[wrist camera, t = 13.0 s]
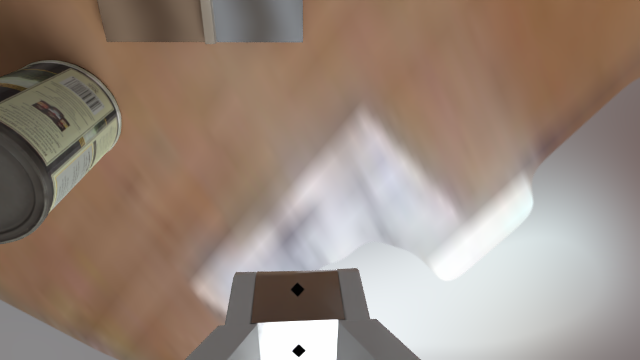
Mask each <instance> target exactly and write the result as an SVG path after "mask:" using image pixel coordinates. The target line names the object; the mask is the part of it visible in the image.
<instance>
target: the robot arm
mask: <svg viewBox="0 0 640 360" xmlns="http://www.w3.org/2000/svg"><path fill="white" fill-rule="evenodd" d="M185 360H421V359H419V358H418V357H417V356H416V355H415V354H414V353H413V352H412V351H411V350H409V349H408V348H407V347H406V346H405V345H404V344H403V343H402V342H401V341H400V340H399V339H398V338H396V337H395V336H394V335H393V334H392V333H391V332H390V331H389V330H387V328H386V327H384V326H383V325H382V324H381V323H380V322H379V321H378V320H377V319H370V317H369V312H368V308H367V304H366V299H365V295H364V291H363V286H362V282H361V278H360V274H359V270H358V269H356V268H352V269H337V270H315V271H277V272H236V273H235V275H234V277H233V283H232V288H231V294H230V299H229V305H228V310H227V316H226V321H225V325H223V326H218V327H217V328H216V329H215V330H214V331H213V332H212V333H211V334H210V335H209V336H208V337H207V338H206V339H205V340H204V341H203V342H202V343H201V344H200V345H199V346H198V347H197V348H196V349H195V350H194V351H193V352H192V353H191V354H190V355H189V356H188V357H187V358H186V359H185Z"/></svg>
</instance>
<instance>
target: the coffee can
mask: <svg viewBox="0 0 640 360" xmlns="http://www.w3.org/2000/svg"><path fill="white" fill-rule="evenodd" d="M120 133H121V114H120V110H119V107H118V105H117V102H116V101H115V99H114V96H113V95H112V94H111V93H110V91H109V90H108V89H107V88H106V86H105V85H104V84H103V83H102V82H101V81H100V80H99V79H97V78H96V77H95V76H94V75H92V74H91V73H89V72H88V71H86V70H84V69H82V68H80V67H78V66H76V65H73V64H70V63H67V62H62V61H55V60H45V61H38V62H34V63H31V64H29V65H27V66H25V67H23V68H21V69H19V70H17V71H14V72H12V73H9V74H7V75H4V76H2V77H0V244H4V243H9V242H14V241H17V240H20V239H22V238H24V237H26V236H28V235H29V234H31V233H32V232H34V231H35V230H36V229H37V228H38V227H39V226H40V225H41V224H42V222H43V221H44V220H45V218H46V217H47V215H48V213H49V212H50V211H51V210H52V209H53V208H54V207H55V206H56V205H57V204H58V203H59V202H60V201H61V200H62V199H63V198H64V197H65V196H66V195H67V193H68V192H69V191H70V190H71V189H72V188H73V187H74V186H75V185H76V184H77V183H78V182H79V181H80V180H81V179H82V178H83V177H84V176H85V175H86V173H87V172H88V171H89V170H90V169H91V168H92V167H93V166H94V165H95V164H96V163H97V162H98V161H99V160H100V159H101V158H102V157H103V156H104V155H105V154H106V153H107V152H108V151H109V150H111V149H112V148H113V146H114V145H115V144H116V142H117V140H118V138H119V136H120Z"/></svg>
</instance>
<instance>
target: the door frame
mask: <svg viewBox="0 0 640 360" xmlns="http://www.w3.org/2000/svg"><path fill="white" fill-rule="evenodd" d="M97 1H98V6H99V10H100V14H101V18H102V23H103V27H104V31H105V35H106V40H107V42H205V44H215V43H216V42H303V0H97Z"/></svg>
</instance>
